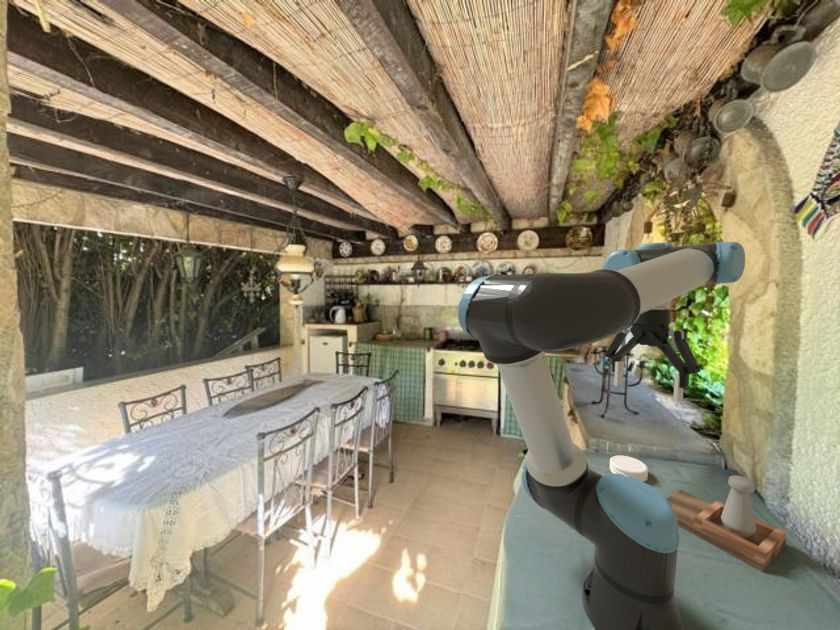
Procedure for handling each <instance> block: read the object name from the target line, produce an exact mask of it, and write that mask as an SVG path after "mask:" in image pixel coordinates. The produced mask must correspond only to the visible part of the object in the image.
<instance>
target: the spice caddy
mask: <svg viewBox="0 0 840 630" xmlns="http://www.w3.org/2000/svg"><path fill="white" fill-rule="evenodd" d="M666 499H667V500H668V501H669V502H670V504H671V505H672V508H673V509H674V510H675V512H676V515H677V518H678V527H680V528H683V529H684V530H686V531H688V532H689V533H691V534H693V535H695V536H697V537H699V538H700V539H702V540H703V541H706V542H707V543H709V544H711V545H713V546H715V547H717V549H718V548H719V549H720V550H722V551H724V552H726V553H728V554H729V555H732V556H733V557H735V558H736V559H738V560H740V561H742V562H744V563H746V564H748V565H750V566H751V567H752V568H755V569H756V570H758V571H760V572H762V573H763V572H764V571H765V570H766V568H767V567H768V566H769V565H770V564H771V563H772V562H773V561H774V559H775V558H776V557H777V556H778V555H779V554H780V552H781V551H782V550H783V549H784V548H785V547H786V546H785V545H787V538H786V535H787V532H786V531H784V530H782V529H780V528H777V527H775V526H773V525H771V524H768V523H766V522H764V521H762V520H759V519H757V518H755V523H756V532H755V534H754V535H753V536H752V537H751V538H750V539H744V538H742V537H740V536H738V535H736V534H734V533H732V532H730V531H728V530H726V529H725V527H724V525H723V522H722V520H721V515H722V512H723V509H724V507H725V504H726V503H725V504H724V502H721V501H718V500H716V501H714V502H713V503H711V502H708V501H706V500H704V499H702V498H700V497H698V496H696V495H693V494H691V493H689V492H687V491H685V490H684V489H683V490H682V489H680V490H678V491H676V492H675V493H673V494H671V495H670V496H668V497H667V498H666ZM784 546H785V547H784ZM783 547H784V548H783ZM782 548H783V549H782ZM778 553H779V554H778Z"/></svg>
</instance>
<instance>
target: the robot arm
mask: <svg viewBox="0 0 840 630" xmlns="http://www.w3.org/2000/svg"><path fill="white" fill-rule="evenodd" d="M604 260H605V261H604V263H603V267H602V269H596V270H594V271H589V272H577V273H576V272H575V273H574V272H573V273H571V272H569V273H568V272H567V273H566V272H541V273H540V272H539V273H517V274H515V273H514V274H513V273H512V274H500V273H496V274H491V275H484V276H481V277H478V278H476V279H474V280H473V281H471V282H470V283H469V284H468V285H467V287H466V288H465V289H464V290H463V292H462V294H461V299H460V300H459V302H458V307H457V319H458V323H459V326H460V327H461V329H462V331H463V332H464V333H465V334H466V335H468V336H469V337H470V338H472V339H476V340H478V342H479V345H480V347H481V351H482V353H483V355H484V358H485V359H486V361H487V362H488V363H490V364H492V365H496V366H497V369H498V372H499V374H500V377H501V380H502V382H503V385H504V388H505V391H506V394H507V397H508V398H509V402H510V403H511V406H512V410H513V412H514V415H515V418H516V420H517V423H518V427H519V428H520V431H521V434H522V436H523V437H522V438H523V439H524V443H525V444H526V447H527V450H528V453H527V455H526V457H525V459H524V461H523V465H522V469H523V471H522V472H521V482H522V486H523V489H524V491H525V492H526V494H527V496H528V497H529V498H531V499H532V501H533V502H534V503H535V504H537V506H538V507H540V508H542V509H544V510H546V511H547V512H548V513H550V514H551V515H552V516H554V517H556V518H557V519H558V520H559V521H561V522H562V523H564V524H565V525H567V526H568V527H569V528H571V529H572V530H574V531H575V532H577V533H578V534H579V535H580V536H582V537H583V538H584V539H586V540H588V541H589V542H590V543H592V544H593V545H594V557H593V558H594V560H593V561H592V563H591V566H590V567H589V569H588V571H587V573H586V574H585V577H584V579H583V582H582V587H581V589H582V590H581V603H582V602H583V603H582V606H584V607H583V610H584V609H585V610H584V612H585V611H586V613H585V615H586V614H587V615H586V617H587V616H588V617H587V619H588V618H589V619H590V620H589V619H588V620H589V622H590V621H591V622H592V623H591V622H590V623H591V625H592V624H593V625H592V626H593V627H594V626H595V628H596V629H597V630H685V626H684V622H683V619H682V616H681V613H680V609H679V606H678V603H677V599H676V597H675V581H676V570H677V558H678V557H677V556H678V547H679V543H680V534H679V525H678V518H677V515H676V512H675V510H674V509H673V508H672V505H671V504H670V502H669V501H668V500H667V498H666V496H664V495H663V494H662V493H661V491H660V492H659V490H657V489H656V488H654V487H653V486H651V485H650V484H648V483H646V482H642V481H640V480H638V479H636V478H633V477H630V476H628V477H625V476H624V475H622V474H613V473H607V474H604V475H602V474H600V473H598V472H596V471H595V470H593V469H592V468H590V467H589V463H588V460H587V458H586V454H585V452H584V451H583V450H582V449H581V447H580V446H579V445H577V444H575V443H573V440H572V437H571V433H570V430H569V427H568V423H567V421H566V417H565V415H564V411H563V408H562V405H561V401H560V398H559V394H558V392H557V388H556V385H555V382H554V380H553V376H552V373H551V370H550V366H549V363H548V360H547V357H546V353H545V352H560V351H567V350H570V349H571V350H572V349H576V348H580V347H583V346H588V345H591V344H595V343H598V342H601V341H604V340H606V339H608V338H611V337H613V336H615V337H614V338H613V340H612V342H611V343H610V344H609V347H608V349H607V350H606V352H605V353H604V356H605V358H608V359H611V372H612V373H614V379H613V380H614V381H613V384H614V385H613V386H615V387H619V386H623V385H624V367H625V361H624V360H623V358H624V357H625V356H626V355H628V353H629V352H631V351H632V350H633V349H634V348H636V346H638V345H641V346H649V347H651V348H655V347H657V348H658V350H661V352H662V353H663V354H664V355H665V357H666V359H667V360H669V362H670V363H671V364H672V365H673V367H674V368H675V369H676V371H677V372H675V373H674V382H673V383H674V384H673V395H672V396H673V397H672V398H673V399H672V401H673V402H674V403H678V402H682V401H683V400H684V389H688V387H689V386H690V385H689V384H690V375H694V374H697V373H700V372H701V368H700V365H699V364H698V362H697V359H696V357H695V355H694V353H693V352H692V349H691V347H690V346H689V343H688V342H687V338H686V337H687V336H686V330H683V329H681V330H670V318H671V311H670V309H668V308H670V307H671V305H672V300H674V299H676V298H678V297H680V296H683V295H684V294H686V293H689V292H691V291H694V290H695V289H697V288H700V287H701V286H704V285H706V284H716V285H721V284H731V283H735V282H737V281H739V280H740V279H741V277H742V276H743V274H744V271H745V268H746V267H745V266H746V252H745V249H744V247H743V245H742V244H741V243H740V242H737V241H723V242H720V241H715V242H712V243H711V242H710V243H699V244H690V245H680V246H674V245H673V244H672V243H669V242H653V243H652V242H651V243H643V244H639V245H638V246H636V249H631V248H627V249H619V250H618V249H617V250H616V251H613V252H611V253H610V254H609V255H608V256H607V257H606V259H604ZM630 333H631V335H632V337H631V338H629V340H628V342H627V343H626V344H624V345H623V346H621V345H622V343H623V342H624V340H625V339H626V337H627V335H628V334H630ZM669 337H671V339H672V340H673V341H674V344H675V346H676V348H677V350H678V352H679V354H680V355H679V354H678V353H677V352H676V351H675V350H674V348H673V347H672V344H671V343H670V342H669V340H668V339H669ZM620 347H621V348H620ZM595 628H594V629H595ZM596 629H595V630H596Z"/></svg>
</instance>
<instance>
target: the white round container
mask: <svg viewBox="0 0 840 630" xmlns="http://www.w3.org/2000/svg"><path fill="white" fill-rule="evenodd" d="M610 470H611V471H610ZM609 471H610V472H611V474H622V475H624V476H625V477H628V476H630V477H633V478H636V479H638V480H640V481H642V482H644V481H645V482H647V481H648V478H649V477H648V475H649V468H648V466H647V465H646V464H645V463H644V462H642V461H641V460H639V459H637V458H634V457H632V456H627V455H622V454H621V455H614V456H612V457H610V459H609ZM645 482H644V483H645Z"/></svg>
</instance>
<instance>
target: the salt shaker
mask: <svg viewBox="0 0 840 630" xmlns="http://www.w3.org/2000/svg"><path fill="white" fill-rule="evenodd" d="M727 484H728V485H729V487H730V490H729V493H728V495H727V499H726V501H725V507H724V509H723V512H722V515H721V520H722V522H723V525H724V527H725V529H726V530H728V531H730V532H732V533H734V534H736V535H738V536H740V537H742V538H744V539H750V538H751V537H752V536H753V535H754V534H755V532H756V523H755V519H756V517H755V513H754V509H753V508H754V507H753V501H752V497H751V494H754V493H755V491H756V484H755V483H754V482H753V481H752V480H750V479H748V478H747V477H744V476H741V475H731V476H729V477H728V482H727Z"/></svg>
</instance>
